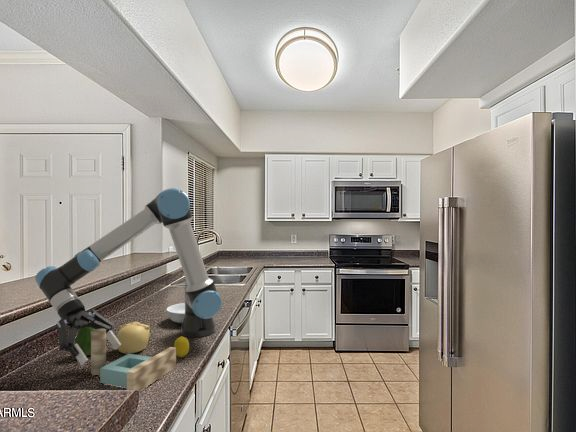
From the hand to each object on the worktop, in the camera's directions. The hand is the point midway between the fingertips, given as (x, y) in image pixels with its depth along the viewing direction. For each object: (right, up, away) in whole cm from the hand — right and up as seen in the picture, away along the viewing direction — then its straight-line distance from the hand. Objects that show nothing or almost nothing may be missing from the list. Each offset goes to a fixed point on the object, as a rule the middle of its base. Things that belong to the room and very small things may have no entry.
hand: (102, 354), depth 117 cm
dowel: (-2, -6, +1) cm, 7 cm away
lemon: (+22, -6, +13) cm, 26 cm away
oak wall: (+19, -6, -5) cm, 20 cm away
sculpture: (+1, -6, +20) cm, 21 cm away
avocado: (-14, -6, +15) cm, 22 cm away
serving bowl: (+13, -6, +57) cm, 59 cm away
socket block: (+11, -6, -3) cm, 13 cm away
